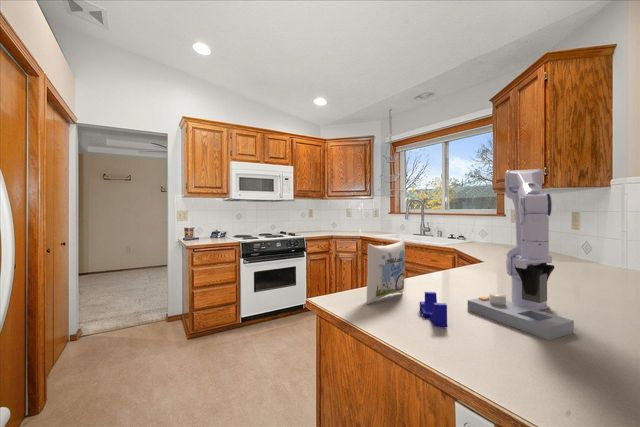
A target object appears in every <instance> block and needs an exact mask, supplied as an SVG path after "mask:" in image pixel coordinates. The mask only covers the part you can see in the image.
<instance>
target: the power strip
mask: <svg viewBox="0 0 640 427" xmlns="http://www.w3.org/2000/svg"><path fill="white" fill-rule="evenodd" d="M469 310H470V312H472V313H474V312H475V313H474V314H477V313H478V315H480V314H481V315H480V316H482V315H483V316H482V317H485V316H486V317H485V318H488V319H490V320H493V319H494V320H493V321H496V322H498V323H501V322H502V323H501V324H504V325H506V326H510V327H512V328H515V329H518V330H520V331H523V332H526V333H528V334H531V335H534V336H536V337H538V338H539V337H540V338H542V339H543V340H544V339H545V340H547V341H550V340H551V341H552V340H554V339H558V338H560V337H563V336H568V335H571V334H574V333H575V321H574V319H570V318H566V317H563V316H559V315H556V314H553V313H549V312H547V311H542V310H536V309H532V308H529V307H526V306H522V305H519V304H515V303H512V302H510V301H508V300H507V296H506V295H505V294H503V293H502V294H501V293H495V292H494V293H493V292H492V293H489V296H481V297H477V298H473V299H467V311H469Z"/></svg>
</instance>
